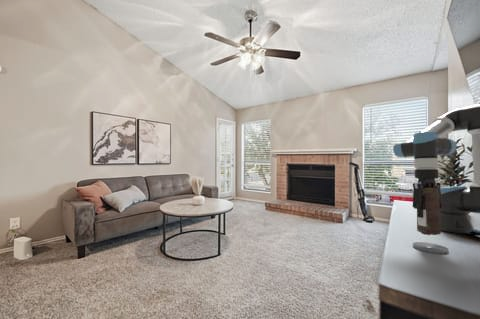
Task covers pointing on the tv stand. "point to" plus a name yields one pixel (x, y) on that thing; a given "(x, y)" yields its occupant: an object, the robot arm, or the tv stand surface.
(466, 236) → the tv stand surface
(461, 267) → the tv stand surface
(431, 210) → the candle
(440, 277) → the tv stand surface
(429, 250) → the coaster
